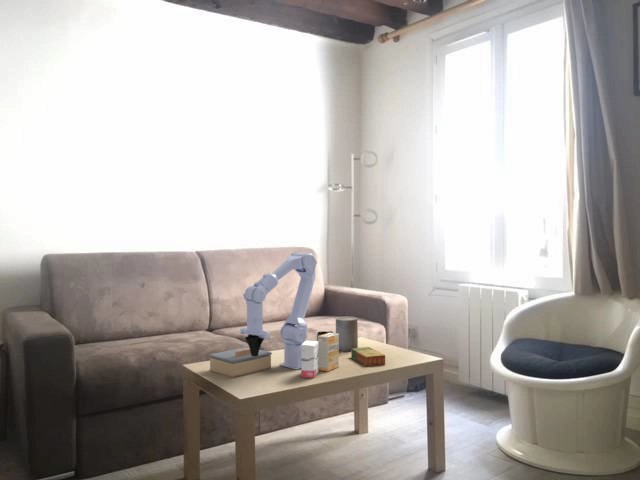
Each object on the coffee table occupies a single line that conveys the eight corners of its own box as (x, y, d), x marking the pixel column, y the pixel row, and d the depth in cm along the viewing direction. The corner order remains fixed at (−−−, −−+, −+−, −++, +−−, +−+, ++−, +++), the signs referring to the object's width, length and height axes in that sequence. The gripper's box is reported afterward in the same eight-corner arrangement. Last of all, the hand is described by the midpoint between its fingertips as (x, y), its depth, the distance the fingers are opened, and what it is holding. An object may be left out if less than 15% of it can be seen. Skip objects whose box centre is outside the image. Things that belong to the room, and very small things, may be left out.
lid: (271, 354, 213) (271, 347, 213) (232, 363, 199) (232, 355, 199) (247, 348, 223) (247, 341, 223) (209, 356, 209) (209, 349, 209)
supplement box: (328, 372, 208) (328, 337, 207) (317, 370, 210) (317, 335, 210) (339, 367, 215) (339, 333, 214) (328, 365, 217) (328, 332, 217)
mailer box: (270, 368, 213) (270, 355, 213) (232, 377, 200) (232, 363, 200) (247, 362, 222) (247, 349, 222) (210, 370, 210) (210, 357, 209)
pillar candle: (356, 346, 251) (356, 313, 251) (359, 351, 241) (358, 316, 241) (334, 346, 251) (334, 313, 250) (336, 351, 241) (336, 317, 240)
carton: (366, 367, 216) (366, 356, 216) (350, 357, 231) (350, 347, 231) (385, 365, 219) (385, 354, 219) (369, 356, 234) (369, 346, 234)
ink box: (314, 378, 199) (314, 345, 199) (300, 377, 200) (300, 344, 200) (318, 372, 208) (318, 340, 207) (306, 371, 209) (306, 339, 208)
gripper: (233, 317, 207) (233, 354, 207) (259, 322, 197) (259, 361, 197) (248, 315, 212) (248, 351, 212) (274, 320, 202) (274, 357, 202)
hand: (254, 355), depth 205 cm, fingers closed
